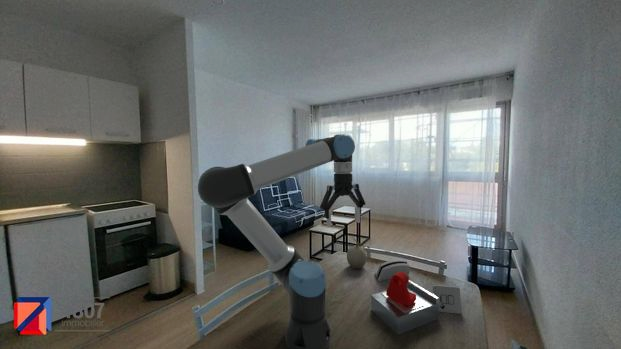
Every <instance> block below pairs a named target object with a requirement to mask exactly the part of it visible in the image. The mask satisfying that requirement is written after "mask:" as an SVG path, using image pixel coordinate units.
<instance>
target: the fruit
mask: <svg viewBox="0 0 621 349" xmlns="http://www.w3.org/2000/svg"><path fill="white" fill-rule="evenodd" d="M351 238H352V239H353V241H355V243H356V245H352V246H351V247H350V248H348V250H347V252H346V260H347V262H348V263H347V264H348V266H350V267H352V268H353V269H355V270H357V269H358V270H359V269H362V268H363V267H365V266H366V263H367V261H368V260H367V252H369V250H368V249H367V248H366V247H365V246H364V245H362V244H361V243H359V242H358V241H357V240H356V239H355V238H354V237H353V236H352V237H351ZM366 251H367V252H366Z"/></svg>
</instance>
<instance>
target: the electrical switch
mask: <svg viewBox="0 0 621 349" xmlns="http://www.w3.org/2000/svg"><path fill="white" fill-rule="evenodd" d="M432 291H433V292H432V294H433V295H435V296H437V297H438V298H439V313H447V314H455V315H456V314H458V315H462V313H463V311H462V310H463V309H462V301H461V300H462V299H461V289H460V287H458V286H454V285H452V286H451V285H442V284H441V285H440V284H433V285H432Z"/></svg>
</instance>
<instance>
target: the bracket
mask: <svg viewBox="0 0 621 349" xmlns="http://www.w3.org/2000/svg"><path fill="white" fill-rule="evenodd" d="M409 280H410V279H409V276H407V275H406V274H405V273H404V272H398V273H397V274H395V275H393V276H392V278H391V279H389V284H388V285H387V288H386V290H385V291H386V296H389V297H391V298H392V300H393V301H395V302H397V303H399V304H401V305H404V304H405V305H407V306H410V305H411V304H412V303H413V302H414V301H416V295H415V294H414V293H411V292H409V291H408V288H407V284H408V282H409Z"/></svg>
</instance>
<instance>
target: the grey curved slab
mask: <svg viewBox="0 0 621 349" xmlns="http://www.w3.org/2000/svg"><path fill="white" fill-rule="evenodd" d="M410 269H411V266H410V264H409V263H408V262H407V261H406V260H404V259H393V260H389V261H385V262H382V263H381V264H379V266H378V268H377V271H376V272H375V273H374V277H376V278H378V279H377V280H378V282H381V281H387V280H391V278H392V276H393V275H395V274H397V273H398V272H404V273H405V274H406V275H407V276H408V277H410V276H409V275H410Z"/></svg>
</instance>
